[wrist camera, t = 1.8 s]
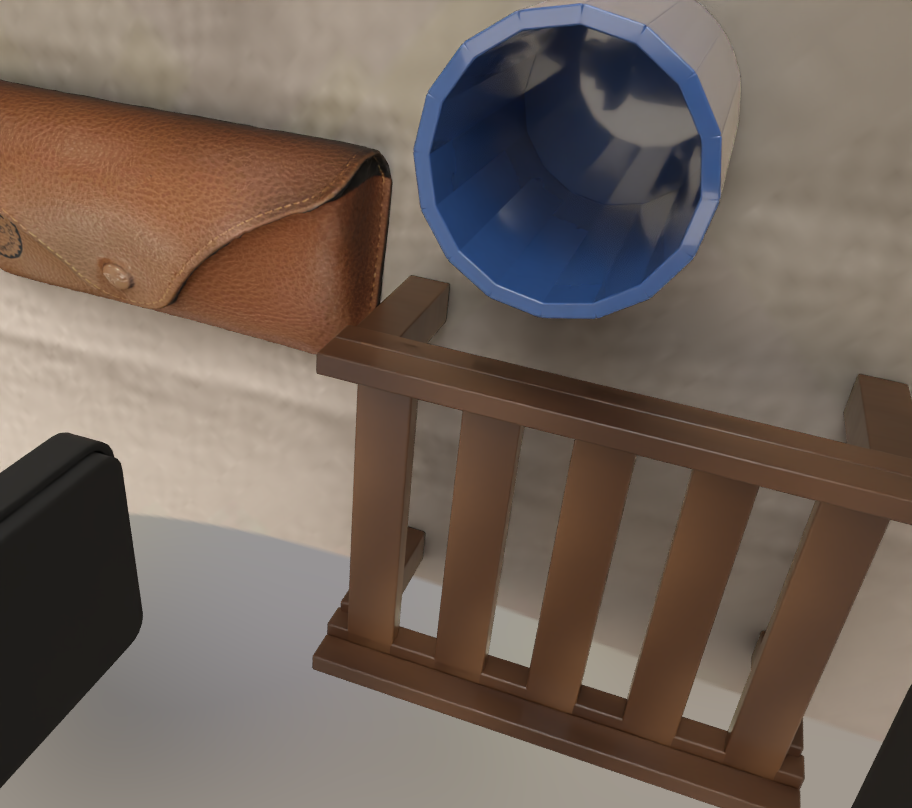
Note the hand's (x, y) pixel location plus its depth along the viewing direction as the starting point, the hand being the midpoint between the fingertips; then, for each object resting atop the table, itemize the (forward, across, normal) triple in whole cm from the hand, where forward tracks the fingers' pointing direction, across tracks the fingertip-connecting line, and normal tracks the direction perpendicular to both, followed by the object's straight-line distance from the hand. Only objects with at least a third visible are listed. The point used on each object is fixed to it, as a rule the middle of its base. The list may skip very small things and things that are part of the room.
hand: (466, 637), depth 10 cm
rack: (+20, 0, +11) cm, 23 cm away
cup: (+20, +2, -2) cm, 20 cm away
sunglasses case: (+20, +18, +4) cm, 27 cm away
